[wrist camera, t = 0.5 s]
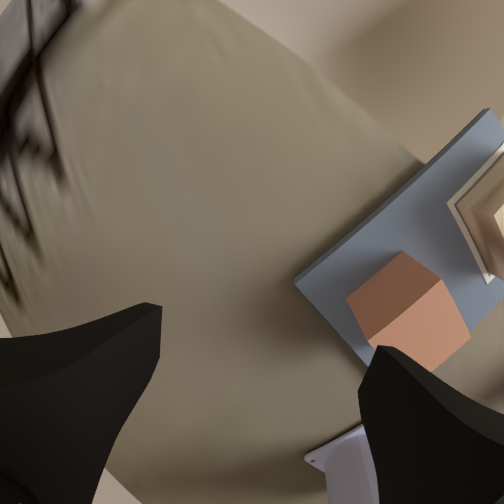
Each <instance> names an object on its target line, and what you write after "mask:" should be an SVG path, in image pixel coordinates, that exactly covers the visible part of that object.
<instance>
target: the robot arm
mask: <svg viewBox="0 0 504 504" xmlns="http://www.w3.org/2000/svg"><path fill="white" fill-rule="evenodd" d="M161 321H162V306H159V305H154V304H150V303H146V302H144V303H140V304H137V305H135V306H132V307H129V308H127V309H124V310H122V311H119V312H116V313H114V314H111V315H109V316H106V317H103V318H101V319H98V320H95V321H92V322H89V323H86V324H82V325H79V326H76V327H73V328H69V329H65V330H61V331H57V332H52V333H47V334H41V335H33V336H24V337H15V338H0V504H92V501H93V498H94V495H95V492H96V489H97V486H98V483H99V480H100V477H101V475H102V472H103V469H104V467H105V464H106V462H107V459H108V457H109V454H110V452H111V450H112V447H113V445H114V442H115V440H116V438H117V436H118V434H119V432H120V430H121V428H122V426H123V425H124V423H125V421H126V420H127V418H128V416H129V415H130V413H131V411H132V410H133V408H134V406H135V405H136V403H137V401H138V400H139V398H140V397H141V395H142V393H143V392H144V390H145V388H146V387H147V385H148V383H149V381H150V379H151V377H152V375H153V373H154V370H155V368H156V365H157V363H158V360H159V358H160V339H161ZM358 399H359V407H360V414H361V418H362V422H363V424H361V425H360V426H358V427H356V428H355V429H353V430H351V431H349V432H348V433H346V434H344V435H342V436H341V437H339V438H337V439H335V440H333V441H331V442H329V443H328V444H326V445H324V446H322V447H320V448H318V449H316V450H314V451H312V452H310V453H308V454H306V455H305V456H304V460H305V461H306V462H308V463H309V464H311V465H312V466H314V467H316V468H317V469H319V470H320V471H322V472H324V473H325V477H326V485H327V494H328V503H329V504H504V414H501V413H499V412H496V411H494V410H492V409H489V408H487V407H485V406H483V405H481V404H479V403H477V402H476V401H474V400H472V399H470V398H468V397H466V396H465V395H463V394H461V393H460V392H458V391H457V390H455V389H454V388H452V387H451V386H449V385H448V384H446V383H445V382H443V381H442V380H441V379H439V378H438V377H436V376H435V375H434V374H432V373H431V372H429V371H428V370H427V369H425V368H424V367H423V366H421V365H420V364H419V363H417V362H416V361H415V360H413V359H412V358H411V357H409V356H408V355H406V354H405V353H403V352H402V351H400V350H399V349H397V348H395V347H393V346H384V345H377V348H376V350H375V353H374V355H373V357H372V360H371V362H370V365H369V367H368V369H367V372H366V374H365V376H364V378H363V380H362V383H361V385H360V387H359V389H358Z"/></svg>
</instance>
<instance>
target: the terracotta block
mask: <svg viewBox="0 0 504 504" xmlns="http://www.w3.org/2000/svg"><path fill="white" fill-rule="evenodd" d="M346 300H347V302H348V304H349V306H350V308H351V310H352V312H353V314H354V316H355V318H356V319H357V321H358V323H359V325H360V327H361V329H362V331H363V333H364V335H365V337H366V339H367V341H368V342H369V344H370V345H371V346H372V347H373V348H374V350H376V348H377V345H384V346H393V347H395V348H397V349H399V350H400V351H402V352H403V353H405V354H406V355H408V356H409V357H411V358H412V359H413V360H415V361H416V362H417V363H419V364H420V365H421V366H423V367H424V368H425V369H427V370H428V371H429V372H431V371H433V370H434V369H435V368H436V367H438V366H439V365H440V364H441V363H443V362H444V361H445V360H446V359H447V358H448V357H450V356H451V355H452V354H453V353H454V352H455V351H457V350H458V349H459V348H460V347H461V346H462V345H463V344H464V343H466V342H467V341H468V340H469V339H470V338H471V334H470V332H469V330H468V328H467V326H466V324H465V322H464V320H463V318H462V316H461V314H460V312H459V310H458V308H457V306H456V304H455V302H454V300H453V299H452V297H451V295H450V293H449V291H448V289H447V287H446V286H445V284H444V282H443V280H442V279H441V278H440V277H439V276H437V275H436V274H435V273H433V272H432V271H430V270H429V269H428V268H426V267H425V266H424V265H422V264H421V263H419V262H418V261H416V260H415V259H414V258H412V257H411V256H409V255H408V254H407V253H405V252H404V251H401V252H400V253H399V254H398V255H397V256H396V257H394V258H393V259H392V260H391V261H390V262H389V263H388V264H386V265H385V266H384V267H383V268H382V269H381V270H379V271H378V272H377V273H376V274H375V275H373V276H372V277H371V278H370V279H369V280H367V281H366V282H365V283H364V284H363V285H361V286H360V287H359V288H358V289H356V290H355V291H354V292H353V293H351V294H350V295H349V296H348V297H346Z"/></svg>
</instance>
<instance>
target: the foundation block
mask: <svg viewBox="0 0 504 504" xmlns="http://www.w3.org/2000/svg"><path fill="white" fill-rule="evenodd" d="M456 206H457V207H458V209H459V211H460V213H461V215H462V216H463V218H464V220H465V222H466V224H467V226H468V228H469V230H470V232H471V234H472V236H473V238H474V240H475V242H476V244H477V246H478V248H479V251H480V253H481V255H482V257H483V259H484V262H485V264H486V266H487V268H488V271H489V273H491V274H492V275H494V276H496V277H497V278H499V279H501V280H502V281H504V154H503V155H502V156H501V158H500V159H499V160H498V161H497V162H496V163H495V164H494V165H493V167H492V168H491V169H490V170H489V171H488V172H487V173H486V174H485V175H484V176H483V178H482V179H481V180H480V181H479V182H478V183H477V184H476V185H475V186H474V187H473V188H472V189H471V190H470V191H469V192H468V193H467V194H466V195H465V196H464V197H463V198H462V199H461V200H460V201H459V203H458V204H457V205H456Z"/></svg>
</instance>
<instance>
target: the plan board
mask: <svg viewBox="0 0 504 504" xmlns="http://www.w3.org/2000/svg"><path fill="white" fill-rule="evenodd" d="M503 154H504V130H503V128H502V126H501V124H500V122H499V121H498V119H497V117H496V115H495V114H494V112H493V110H492V108H487V109H483V110H482V111H481V112H480V113H479V114H478V115H477V116H476V117H475V118H474V119H473V120H472V121H471V122H470V123H469V124H468V125H467V126H466V127H465V128H464V129H463V130H462V131H461V132H460V133H459V134H458V135H456V136H455V137H454V138H453V139H452V140H451V141H450V142H449V143H448V144H447V145H446V146H445V147H444V148H443V149H442V150H441V151H440V152H439V153H438V154H436V155H435V156H434V157H433V158H432V159H431V160H430V161H429V162H428V163H427V164H426V165H425V166H424V167H422V168H421V169H420V170H419V171H418V172H417V173H416V174H415V175H414V176H413V177H412V178H410V179H409V180H408V181H407V182H406V183H405V184H404V185H403V186H402V187H400V188H399V189H398V190H397V191H396V192H395V193H394V194H393V195H392V196H390V197H389V198H388V199H387V200H386V201H385V202H384V203H382V204H381V205H380V206H379V207H378V208H377V209H376V210H374V211H373V212H372V213H371V214H370V215H369V216H368V217H366V218H365V219H364V220H363V221H362V222H361V223H359V224H358V225H357V226H356V227H355V228H354V229H352V230H351V231H350V232H349V233H348V234H347V235H345V236H344V237H343V238H342V239H341V240H340V241H338V242H337V243H336V244H335V245H334V246H332V247H331V248H330V249H329V250H328V251H326V252H325V253H324V254H323V255H322V256H320V257H319V258H318V259H317V260H316V261H314V262H313V263H312V264H311V265H309V266H308V267H307V268H306V269H305V270H303V271H302V272H301V273H300V274H298V275H297V276H296V277H295V278H293V279H294V284H295V286H296V287H297V288H298V289H299V290H300V291H301V292H302V293H303V294H304V296H305V297H306V298H307V299H308V300H309V301H310V302H311V303H312V304H313V306H314V307H315V308H316V309H317V310H318V311H319V312H320V313H321V314H322V316H323V317H324V318H325V319H326V320H327V321H328V322H329V323H330V325H331V326H332V327H333V328H334V329H335V330H336V331H337V332H338V334H339V335H340V336H341V337H342V338H343V339H344V340H345V341H346V343H347V344H348V345H349V346H350V347H351V348H352V349H353V350H354V352H355V353H356V354H357V355H358V356H359V357H360V358H361V359H362V361H363V362H364V363H365V364H366V365H367V366H368V367H369V365H370V362H371V360H372V357H373V355H374V353H375V350H374V348H373V347H372V346H371V345H370V344H369V342H368V341H367V339H366V337H365V335H364V333H363V331H362V329H361V327H360V325H359V323H358V321H357V319H356V318H355V316H354V314H353V312H352V310H351V308H350V306H349V304H348V302H347V300H346V297H348V296H349V295H350V294H351V293H353V292H354V291H355V290H356V289H358V288H359V287H360V286H361V285H363V284H364V283H365V282H366V281H367V280H369V279H370V278H371V277H372V276H373V275H375V274H376V273H377V272H378V271H379V270H381V269H382V268H383V267H384V266H385V265H386V264H388V263H389V262H390V261H391V260H392V259H393V258H394V257H396V256H397V255H398V254H399V253H400V252H401V251H404V252H405V253H407V254H408V255H409V256H411V257H412V258H414V259H415V260H416V261H418V262H419V263H421V264H422V265H424V266H425V267H426V268H428V269H429V270H430V271H432V272H433V273H435V274H436V275H437V276H439V277H440V278H441V279H442V280H443V282H444V284H445V286H446V287H447V289H448V291H449V293H450V295H451V297H452V299H453V300H454V302H455V304H456V306H457V308H458V310H459V312H460V314H461V316H462V318H463V320H464V322H465V324H466V326H467V328H468V330H469V331H470V330H471V329H472V328H473V327H475V326H476V325H477V324H478V323H479V322H480V321H481V320H482V319H483V318H484V317H485V316H486V315H487V314H488V313H489V312H490V311H491V310H492V309H493V308H494V307H495V306H496V305H497V303H498V302H499V301H500V300H501V299H502V298H503V297H504V281H502V280H501V279H499V278H497V277H496V276H494V275H492V274H491V273H489V271H488V268H487V266H486V264H485V262H484V259H483V257H482V255H481V253H480V251H479V248H478V246H477V244H476V242H475V240H474V238H473V236H472V234H471V232H470V230H469V228H468V226H467V224H466V222H465V220H464V218H463V216H462V215H461V213H460V211H459V209H458V207H457V206H456V205H457V204H458V203H459V201H460V200H461V199H462V198H463V197H464V196H465V195H466V194H467V193H468V192H469V191H470V190H471V189H472V188H473V187H474V186H475V185H476V184H477V183H478V182H479V181H480V180H481V179H482V178H483V176H484V175H485V174H486V173H487V172H488V171H489V170H490V169H491V168H492V167H493V165H494V164H495V163H496V162H497V161H498V160H499V159H500V158H501V156H502V155H503Z"/></svg>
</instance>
